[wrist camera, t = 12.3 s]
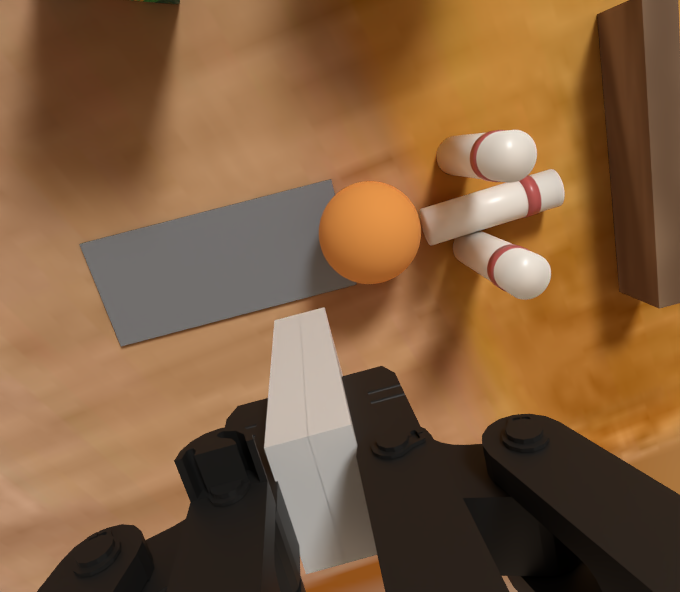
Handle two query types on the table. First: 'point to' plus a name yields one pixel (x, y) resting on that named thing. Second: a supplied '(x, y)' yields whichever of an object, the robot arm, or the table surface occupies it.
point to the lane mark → (214, 264)
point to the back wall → (644, 144)
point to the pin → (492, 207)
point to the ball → (369, 232)
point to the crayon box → (161, 1)
